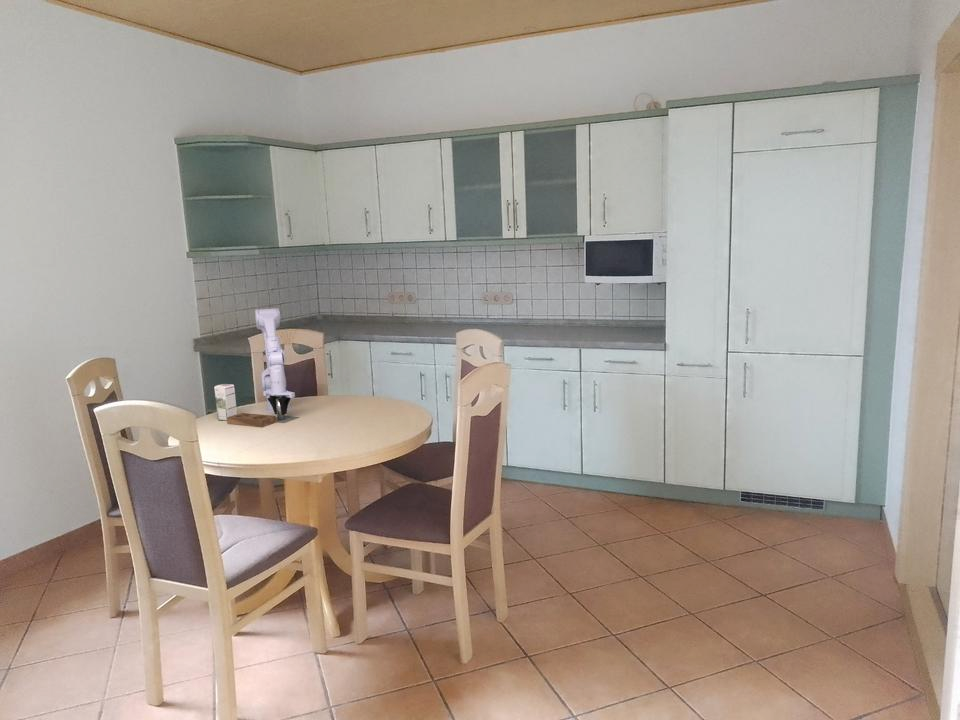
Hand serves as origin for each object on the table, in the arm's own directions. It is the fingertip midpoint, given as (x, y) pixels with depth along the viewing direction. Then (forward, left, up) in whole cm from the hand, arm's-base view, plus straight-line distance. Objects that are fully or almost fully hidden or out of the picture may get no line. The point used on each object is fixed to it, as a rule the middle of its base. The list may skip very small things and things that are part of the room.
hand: (280, 414), depth 284 cm
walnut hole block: (+8, -8, -3) cm, 12 cm away
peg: (0, 0, -2) cm, 2 cm away
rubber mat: (-1, 0, -3) cm, 3 cm away
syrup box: (+5, -24, -3) cm, 25 cm away
